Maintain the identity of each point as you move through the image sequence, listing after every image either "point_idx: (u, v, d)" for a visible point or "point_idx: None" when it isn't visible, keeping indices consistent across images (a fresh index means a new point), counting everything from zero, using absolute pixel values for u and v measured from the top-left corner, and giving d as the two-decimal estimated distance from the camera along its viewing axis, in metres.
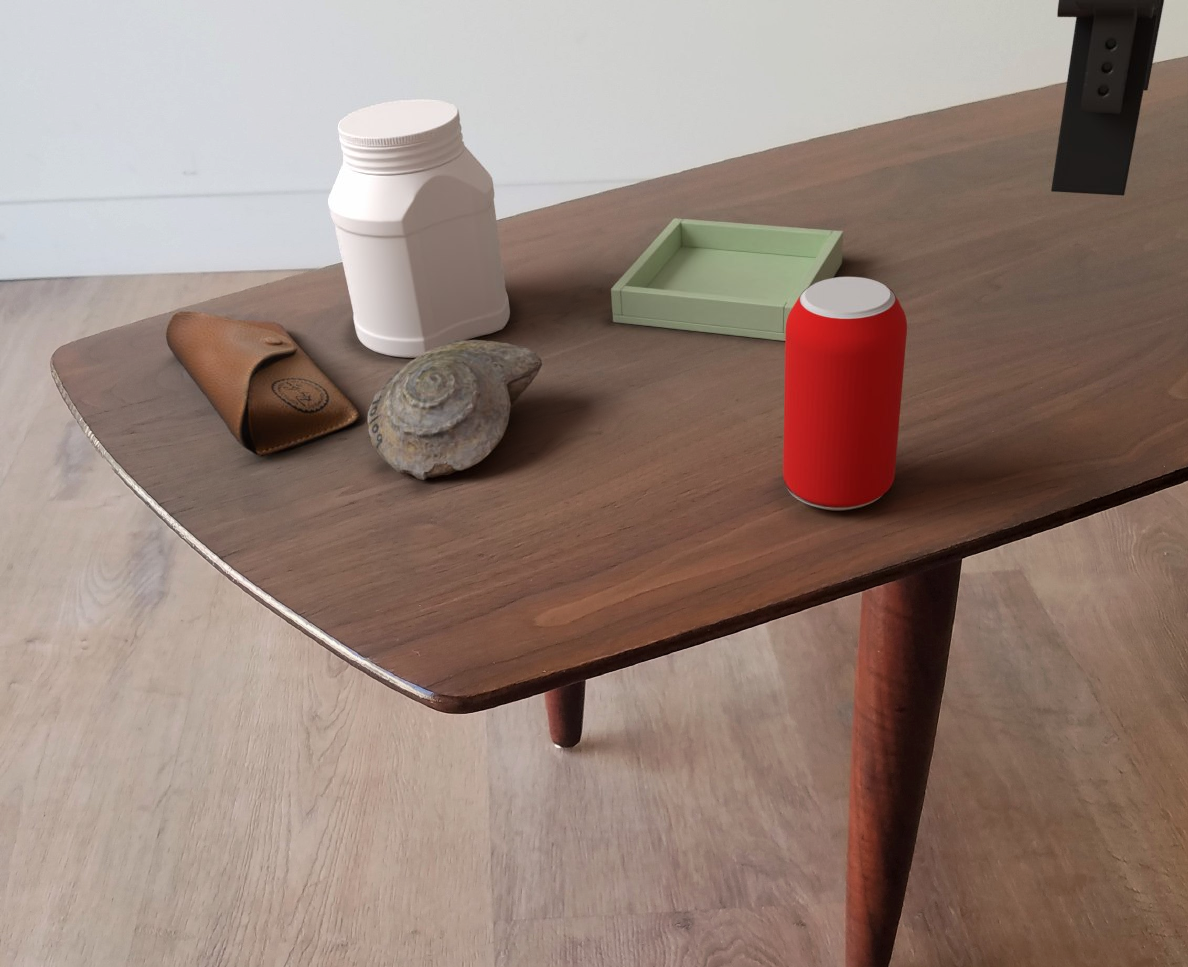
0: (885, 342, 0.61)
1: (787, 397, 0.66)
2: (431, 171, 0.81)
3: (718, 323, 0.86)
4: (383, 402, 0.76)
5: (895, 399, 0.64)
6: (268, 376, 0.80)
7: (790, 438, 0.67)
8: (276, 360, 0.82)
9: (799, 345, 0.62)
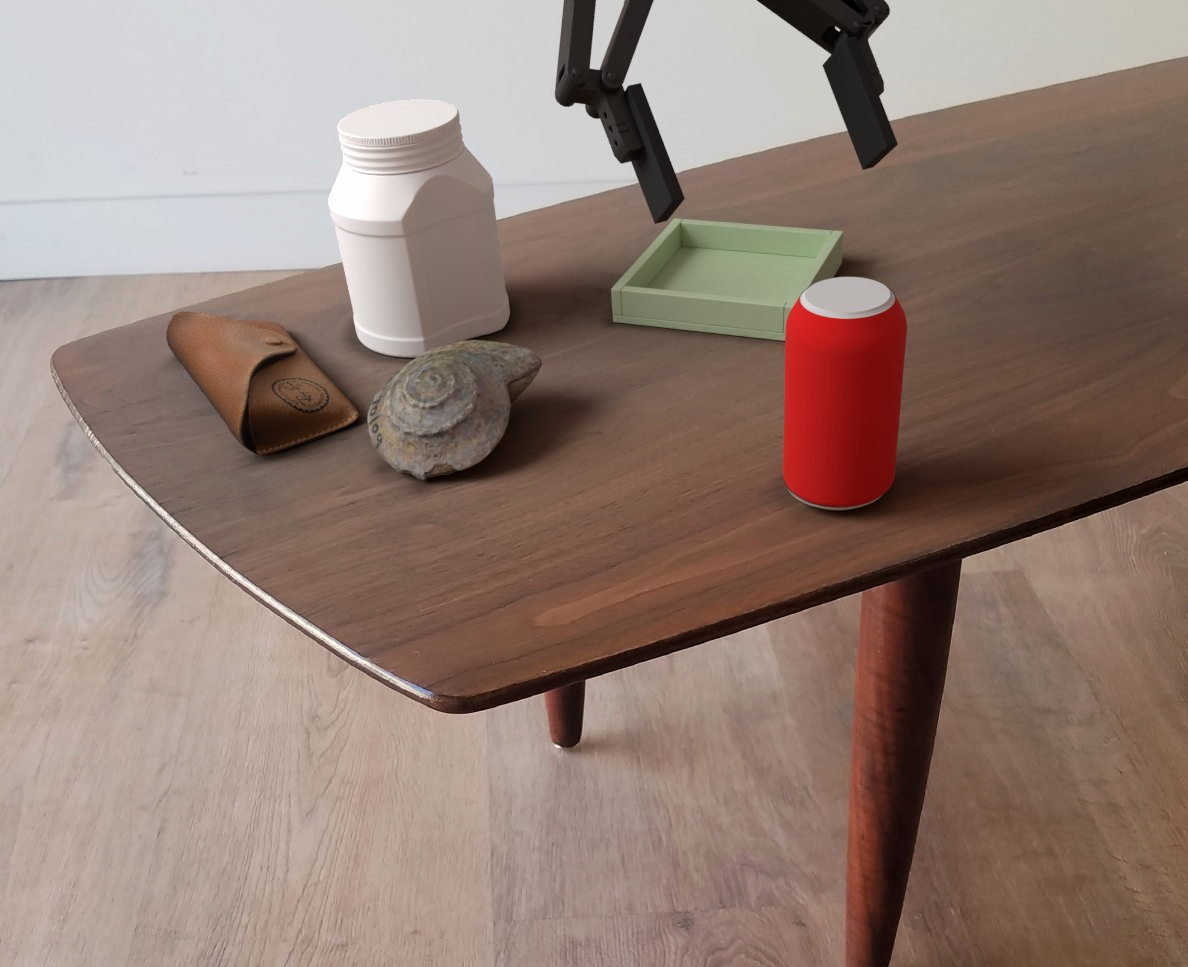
0: (885, 342, 0.61)
1: (787, 397, 0.66)
2: (431, 170, 0.81)
3: (718, 323, 0.86)
4: (383, 402, 0.76)
5: (895, 399, 0.64)
6: (268, 376, 0.80)
7: (790, 438, 0.67)
8: (276, 360, 0.82)
9: (799, 345, 0.62)
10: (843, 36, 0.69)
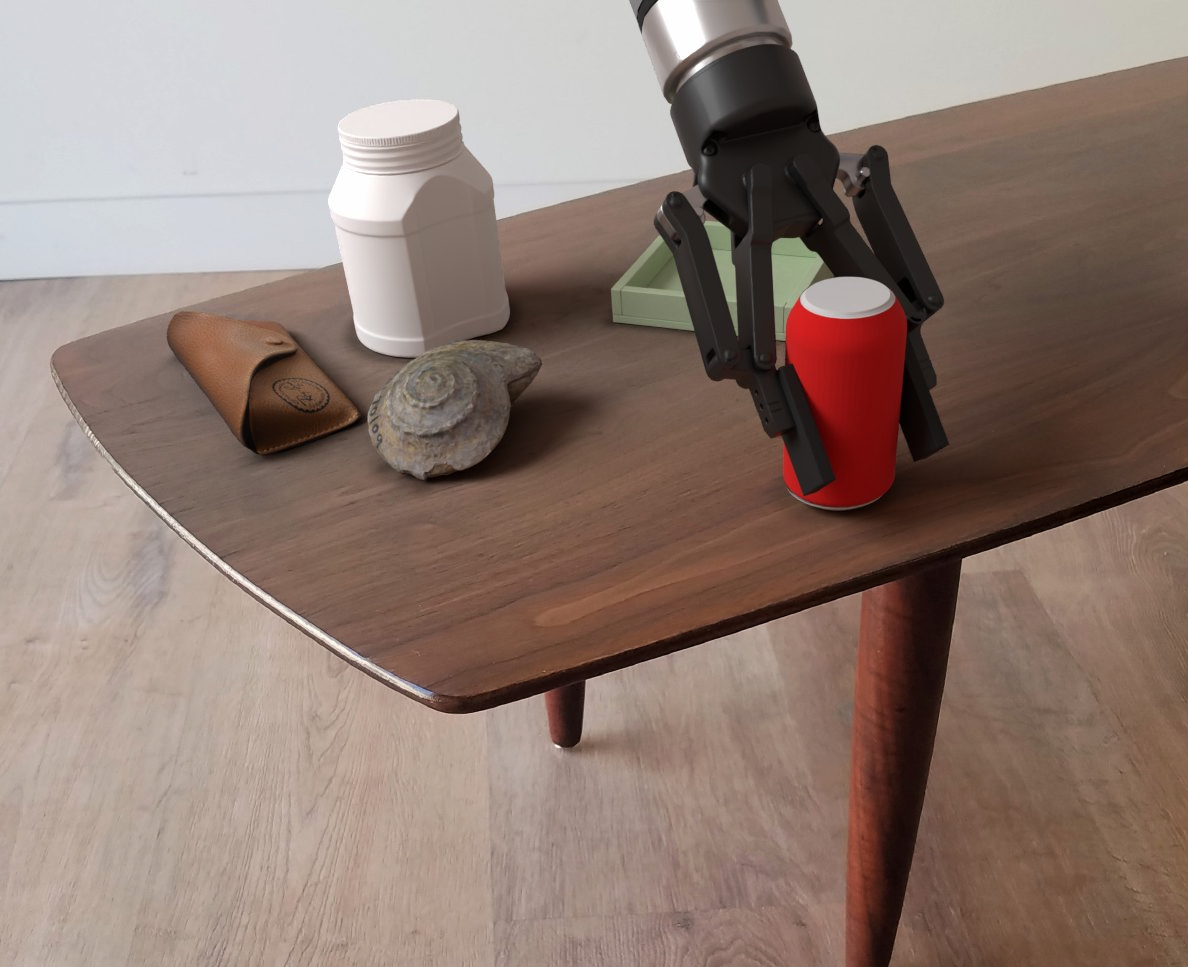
0: (885, 342, 0.61)
1: None
2: (431, 170, 0.81)
3: None
4: (383, 402, 0.76)
5: (895, 399, 0.64)
6: (268, 375, 0.80)
7: None
8: (277, 360, 0.82)
9: (799, 345, 0.62)
10: None
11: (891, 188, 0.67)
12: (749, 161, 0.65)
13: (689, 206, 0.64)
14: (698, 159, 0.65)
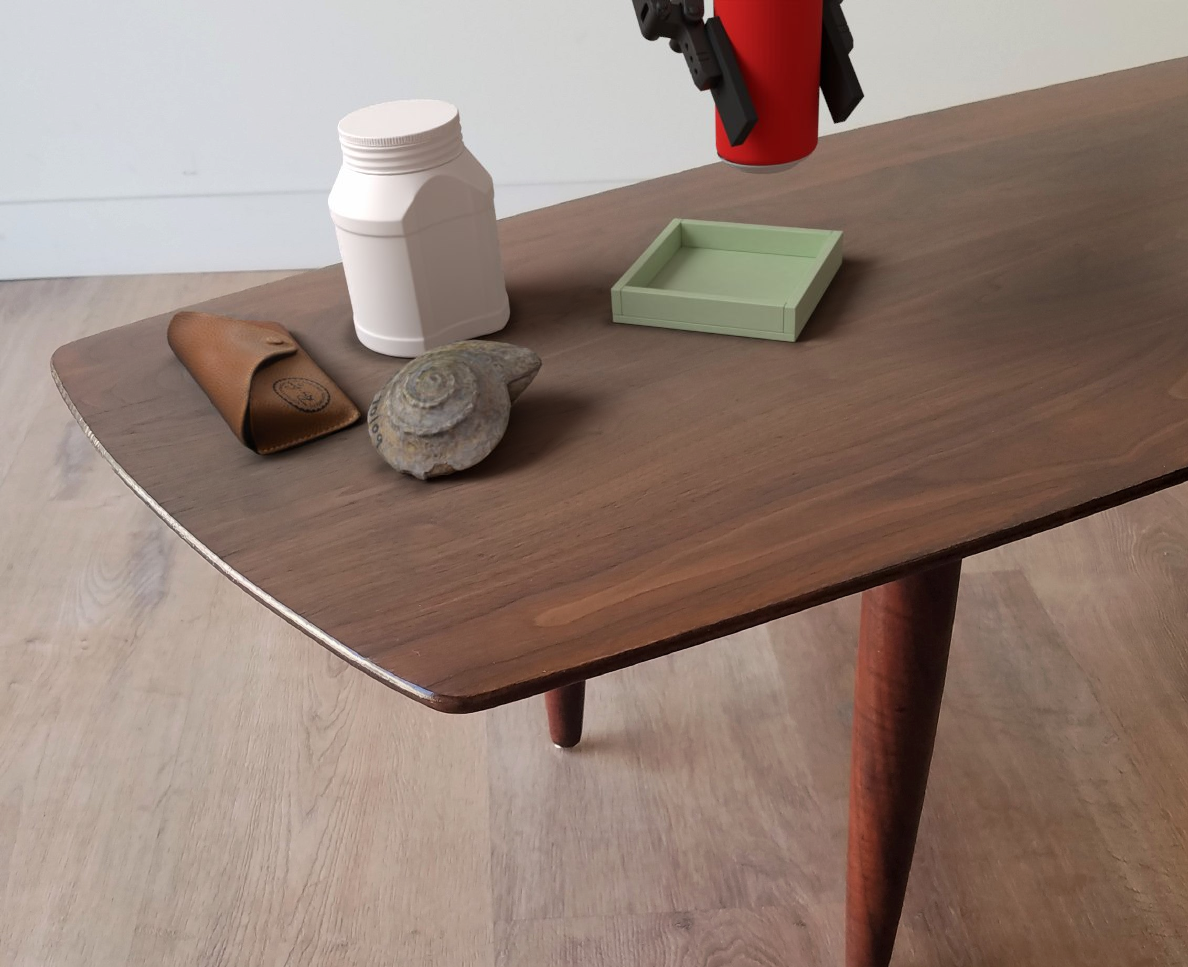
0: None
1: None
2: (431, 170, 0.81)
3: (718, 323, 0.86)
4: (383, 402, 0.76)
5: (814, 52, 0.70)
6: (269, 375, 0.80)
7: None
8: (277, 360, 0.82)
9: None
10: None
11: None
12: None
13: None
14: None
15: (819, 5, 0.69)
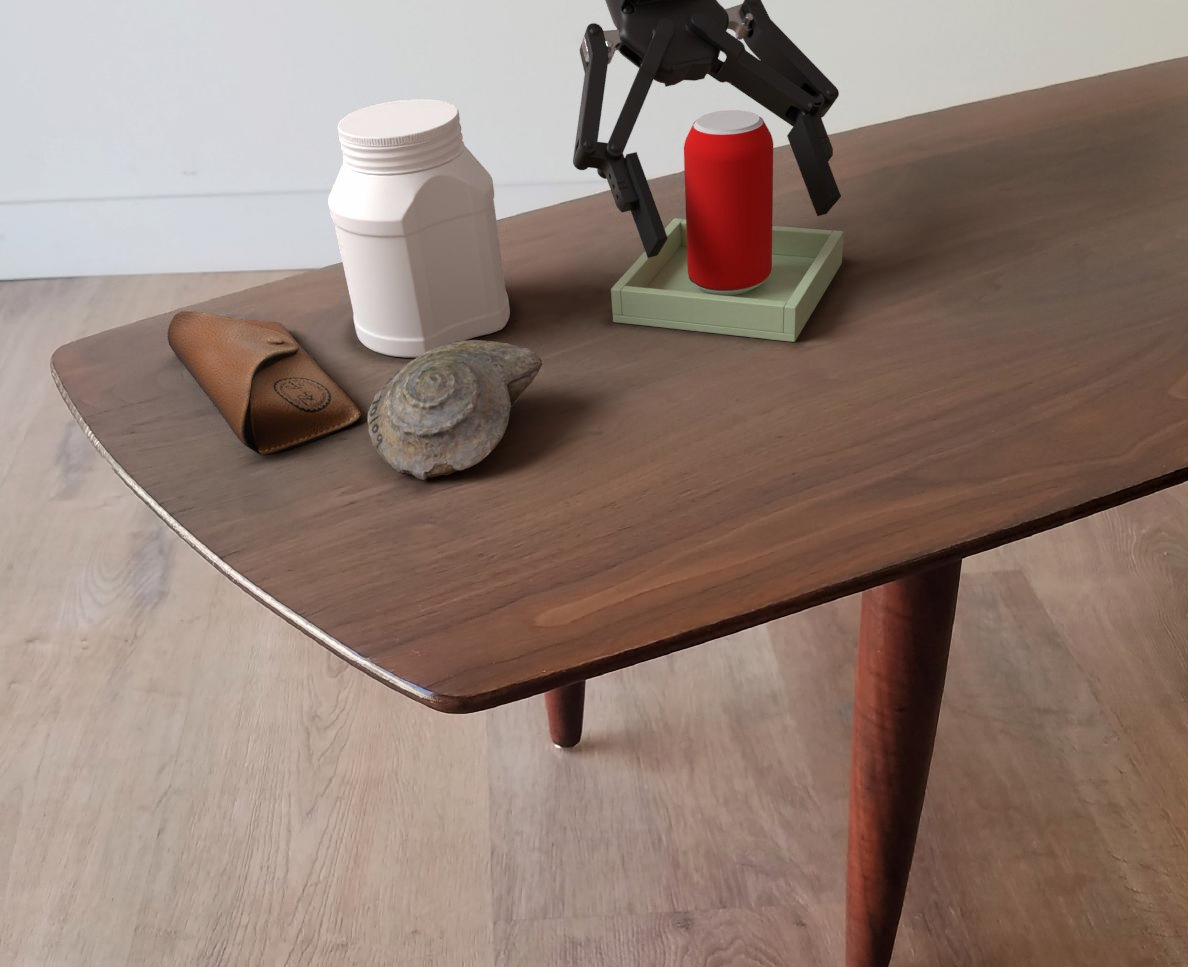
0: (754, 153, 0.83)
1: (686, 203, 0.87)
2: (431, 170, 0.81)
3: (718, 323, 0.86)
4: (383, 402, 0.76)
5: (766, 202, 0.86)
6: (270, 375, 0.80)
7: (690, 236, 0.88)
8: (278, 359, 0.82)
9: (692, 157, 0.84)
10: (801, 113, 0.89)
11: (771, 22, 0.88)
12: (658, 18, 0.87)
13: (603, 37, 0.85)
14: (619, 17, 0.87)
15: (770, 166, 0.85)
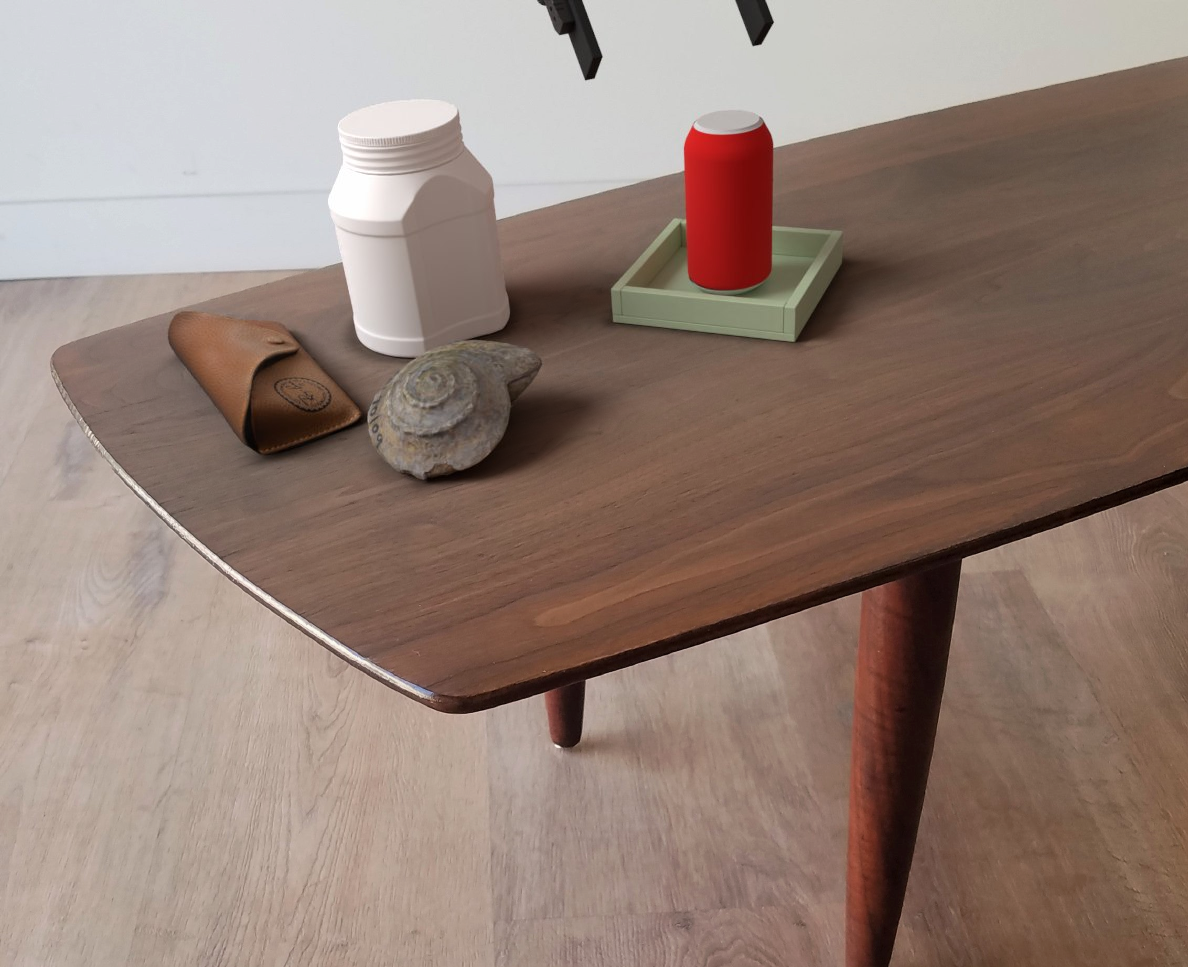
0: (754, 152, 0.83)
1: (686, 203, 0.87)
2: (431, 170, 0.81)
3: (718, 323, 0.86)
4: (383, 402, 0.76)
5: (766, 202, 0.86)
6: (270, 375, 0.80)
7: (690, 236, 0.88)
8: (278, 359, 0.82)
9: (692, 157, 0.84)
10: None
11: None
12: None
13: None
14: None
15: (770, 166, 0.85)
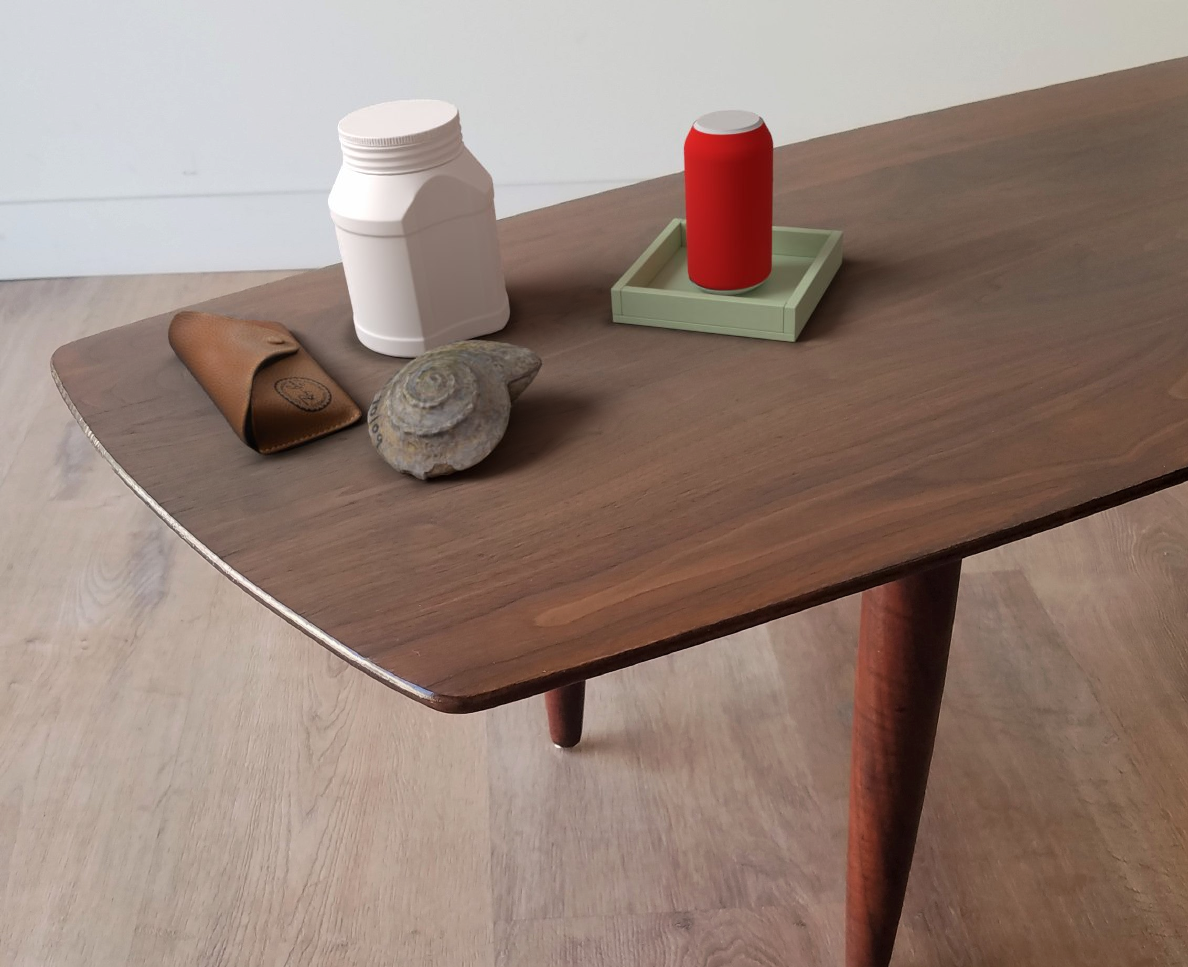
0: (754, 152, 0.83)
1: (686, 203, 0.87)
2: (431, 170, 0.81)
3: (718, 323, 0.86)
4: (383, 402, 0.76)
5: (766, 202, 0.86)
6: (271, 375, 0.80)
7: (690, 236, 0.88)
8: (279, 359, 0.82)
9: (692, 157, 0.84)
10: None
11: None
12: None
13: None
14: None
15: (770, 166, 0.85)
